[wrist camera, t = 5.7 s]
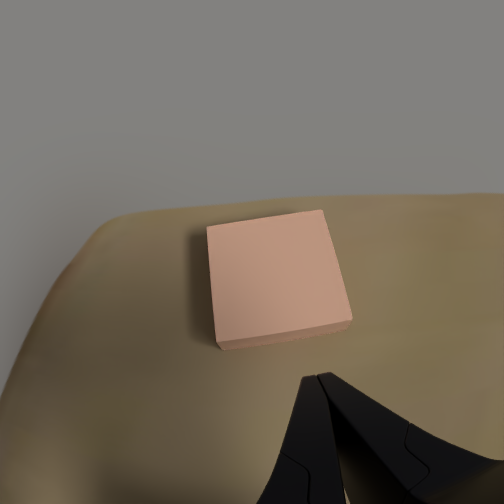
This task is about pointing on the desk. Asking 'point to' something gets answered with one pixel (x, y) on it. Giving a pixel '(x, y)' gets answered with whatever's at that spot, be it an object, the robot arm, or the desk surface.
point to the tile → (275, 280)
